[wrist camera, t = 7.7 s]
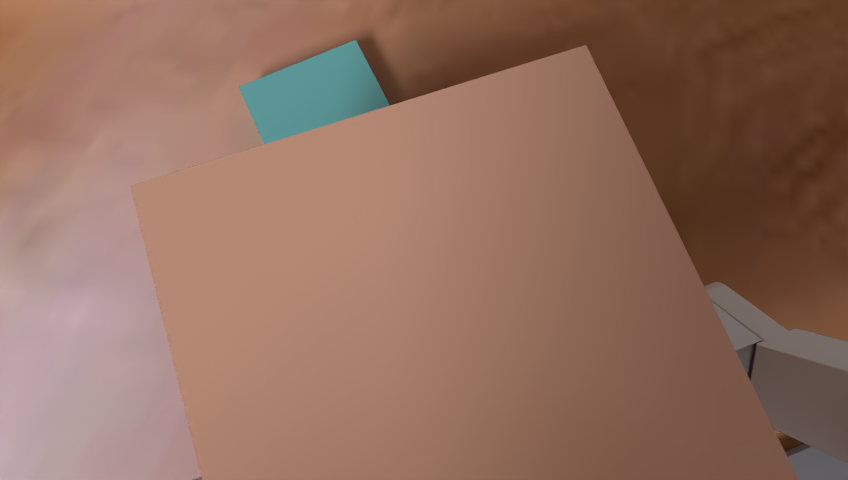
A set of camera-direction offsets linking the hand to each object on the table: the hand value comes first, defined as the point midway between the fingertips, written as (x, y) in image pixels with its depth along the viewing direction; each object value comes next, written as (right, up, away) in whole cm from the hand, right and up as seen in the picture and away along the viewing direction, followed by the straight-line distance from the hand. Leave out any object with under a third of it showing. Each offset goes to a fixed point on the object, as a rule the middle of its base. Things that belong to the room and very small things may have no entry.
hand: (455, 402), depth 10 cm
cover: (-1, 0, +6) cm, 6 cm away
